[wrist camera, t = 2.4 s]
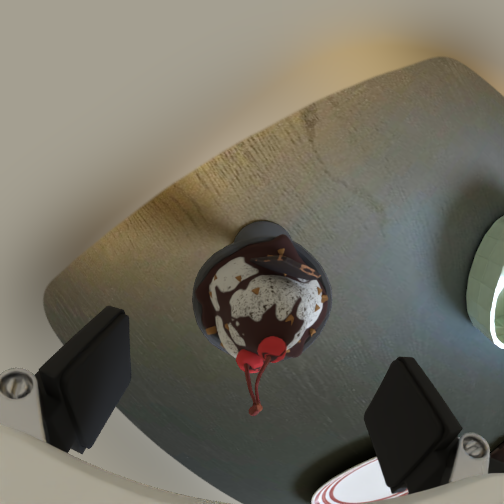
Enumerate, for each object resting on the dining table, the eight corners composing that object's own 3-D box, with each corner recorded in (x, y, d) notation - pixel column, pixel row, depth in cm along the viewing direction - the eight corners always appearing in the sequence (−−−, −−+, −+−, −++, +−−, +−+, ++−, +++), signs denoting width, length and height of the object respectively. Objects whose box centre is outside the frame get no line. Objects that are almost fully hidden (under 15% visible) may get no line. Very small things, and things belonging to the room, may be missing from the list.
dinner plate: (294, 510, 36) (295, 522, 32) (338, 436, 29) (342, 455, 25) (414, 491, 35) (418, 501, 32) (483, 409, 28) (491, 421, 25)
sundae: (248, 303, 24) (228, 449, 10) (207, 235, 23) (121, 329, 8) (318, 268, 23) (383, 394, 8) (280, 195, 22) (313, 231, 7)
